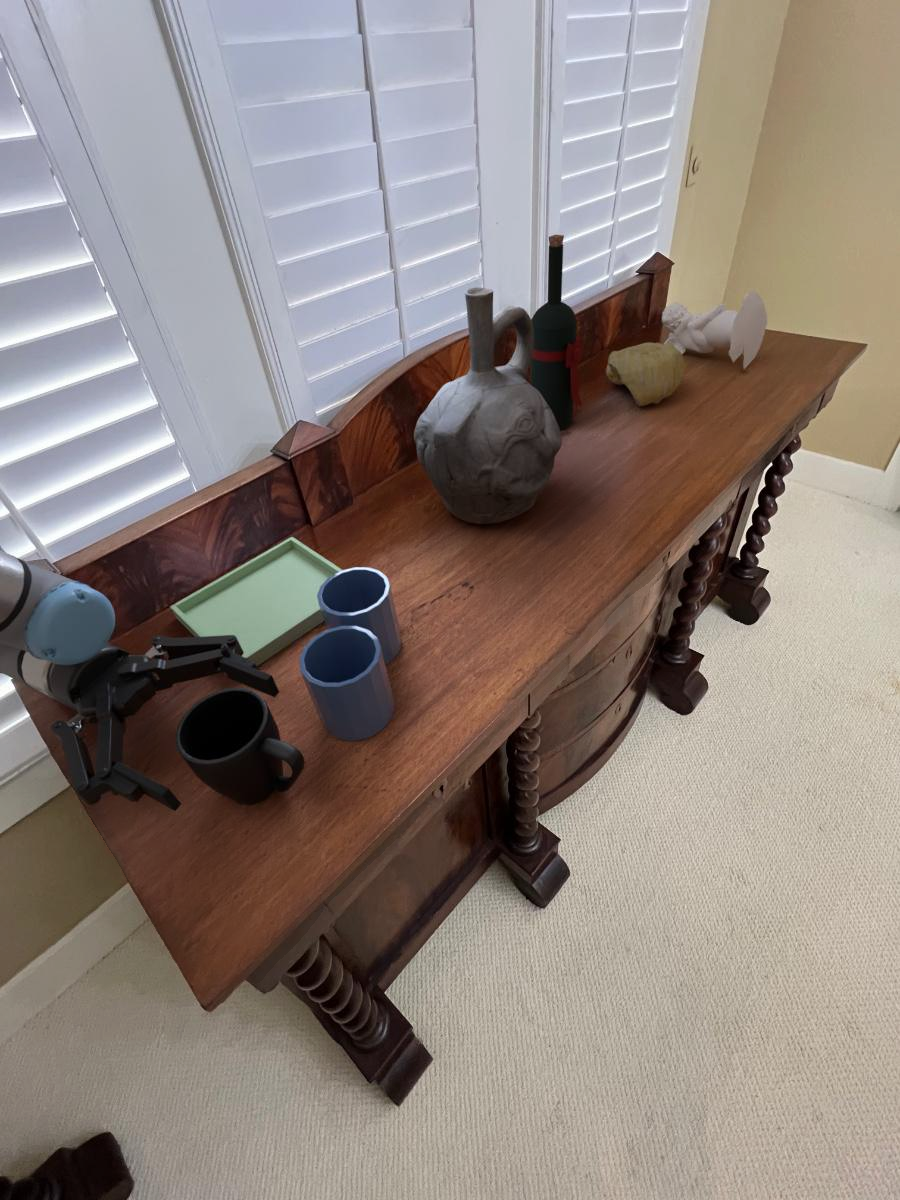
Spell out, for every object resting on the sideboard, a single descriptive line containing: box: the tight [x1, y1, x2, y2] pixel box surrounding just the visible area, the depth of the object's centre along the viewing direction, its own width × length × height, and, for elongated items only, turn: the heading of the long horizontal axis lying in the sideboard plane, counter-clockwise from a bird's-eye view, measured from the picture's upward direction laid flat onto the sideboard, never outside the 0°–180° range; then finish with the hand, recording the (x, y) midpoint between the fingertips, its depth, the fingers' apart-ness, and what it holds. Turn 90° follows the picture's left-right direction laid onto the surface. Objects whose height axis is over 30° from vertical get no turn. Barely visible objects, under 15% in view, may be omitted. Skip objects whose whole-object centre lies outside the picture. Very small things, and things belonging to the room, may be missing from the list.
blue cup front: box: [298, 626, 395, 742], centre depth 60 cm, size 8×8×9 cm
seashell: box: [605, 341, 685, 407], centre depth 110 cm, size 17×11×15 cm
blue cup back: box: [317, 566, 402, 666], centre depth 67 cm, size 8×8×9 cm
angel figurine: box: [661, 289, 768, 370], centre depth 120 cm, size 14×20×12 cm
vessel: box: [413, 286, 563, 525], centre depth 82 cm, size 24×22×30 cm
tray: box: [169, 536, 343, 668], centre depth 77 cm, size 19×16×2 cm
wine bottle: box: [529, 234, 584, 432], centre depth 98 cm, size 8×10×30 cm
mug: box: [174, 687, 306, 806], centre depth 54 cm, size 8×12×10 cm
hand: (226, 739), depth 55 cm, fingers open, 13 cm apart
